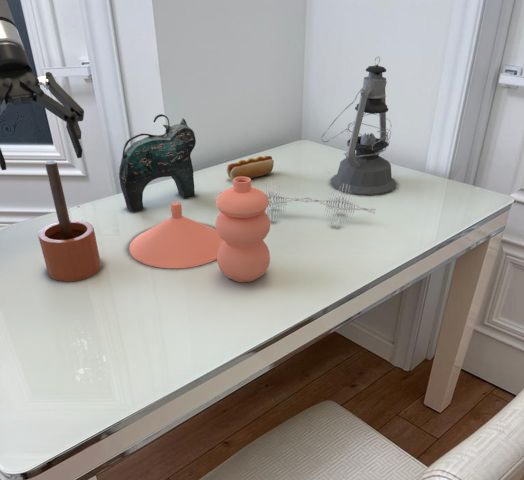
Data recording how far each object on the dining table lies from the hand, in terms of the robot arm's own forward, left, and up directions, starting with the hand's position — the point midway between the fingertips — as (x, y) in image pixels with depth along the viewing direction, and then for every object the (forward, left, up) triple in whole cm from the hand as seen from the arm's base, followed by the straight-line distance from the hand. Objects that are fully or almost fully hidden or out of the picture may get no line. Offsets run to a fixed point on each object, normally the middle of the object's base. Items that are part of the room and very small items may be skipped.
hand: (42, 160), depth 100 cm
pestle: (+4, -4, -19) cm, 20 cm away
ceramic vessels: (+27, +6, -20) cm, 34 cm away
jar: (+4, -4, -20) cm, 20 cm away
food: (+28, +52, -20) cm, 63 cm away
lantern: (+57, +54, -20) cm, 81 cm away
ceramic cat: (+10, +31, -20) cm, 39 cm away
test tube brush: (+46, +28, -20) cm, 57 cm away
